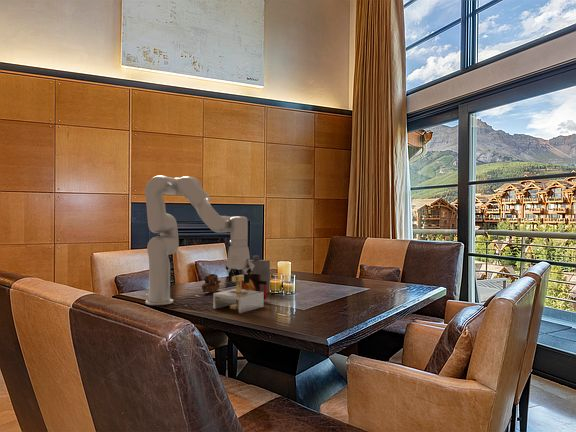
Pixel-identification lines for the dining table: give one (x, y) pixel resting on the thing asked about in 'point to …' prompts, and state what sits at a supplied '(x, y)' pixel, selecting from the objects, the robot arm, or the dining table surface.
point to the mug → (254, 284)
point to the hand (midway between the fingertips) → (238, 282)
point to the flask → (261, 271)
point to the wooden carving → (210, 283)
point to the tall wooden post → (237, 289)
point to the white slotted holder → (246, 299)
